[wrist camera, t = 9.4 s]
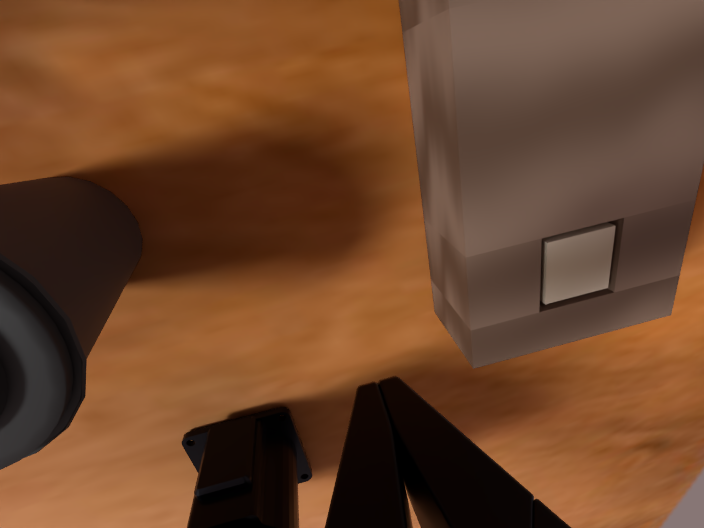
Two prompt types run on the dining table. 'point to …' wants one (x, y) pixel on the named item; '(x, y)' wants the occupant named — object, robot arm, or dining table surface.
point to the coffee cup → (55, 300)
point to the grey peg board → (553, 157)
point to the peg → (576, 262)
